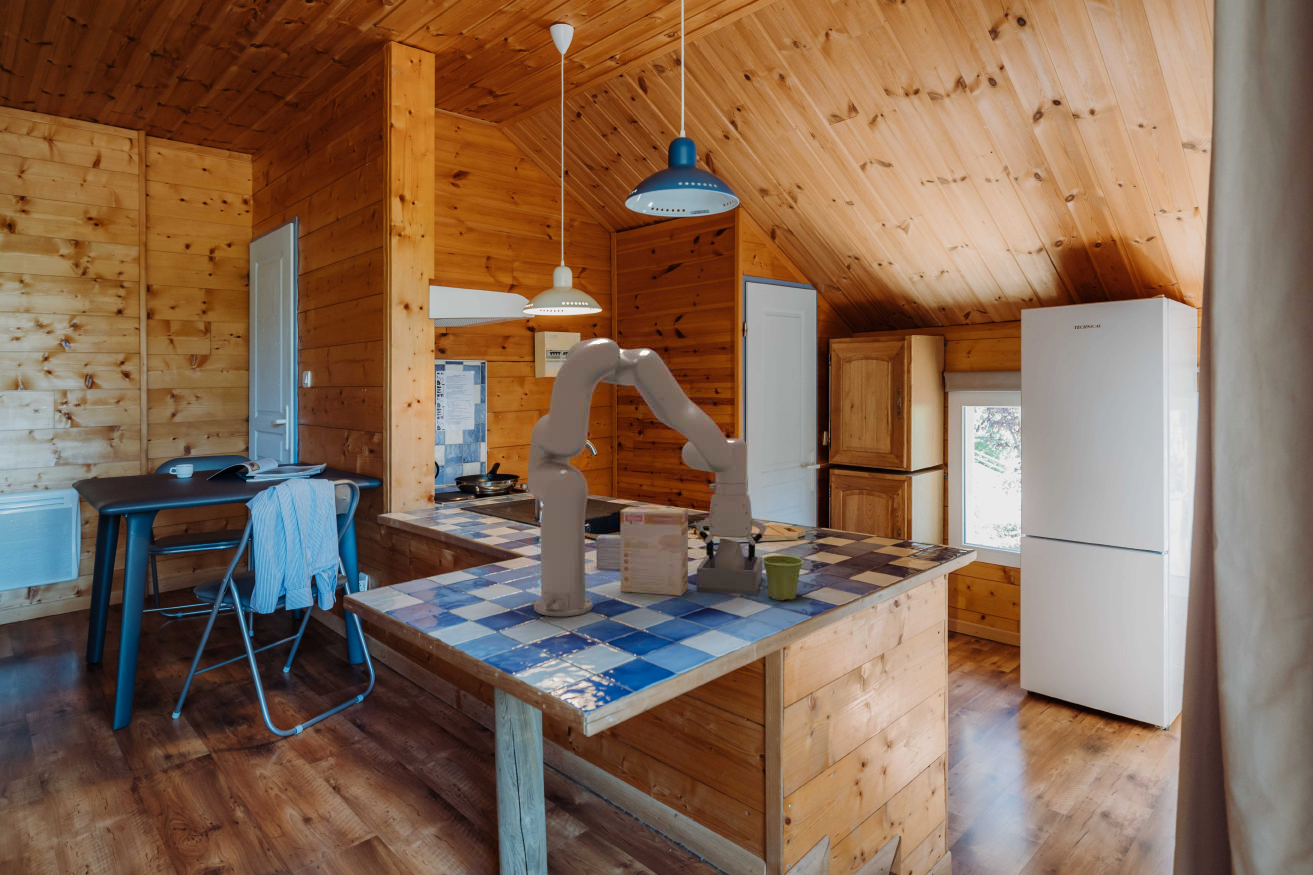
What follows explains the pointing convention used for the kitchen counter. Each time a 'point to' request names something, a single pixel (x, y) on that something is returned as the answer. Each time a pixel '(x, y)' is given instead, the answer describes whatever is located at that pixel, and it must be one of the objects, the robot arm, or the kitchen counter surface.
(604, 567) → the medicine box
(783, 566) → the plant pot
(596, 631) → the kitchen counter surface
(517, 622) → the kitchen counter surface
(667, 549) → the coffeecake box
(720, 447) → the robot arm
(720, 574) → the walled box
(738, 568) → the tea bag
